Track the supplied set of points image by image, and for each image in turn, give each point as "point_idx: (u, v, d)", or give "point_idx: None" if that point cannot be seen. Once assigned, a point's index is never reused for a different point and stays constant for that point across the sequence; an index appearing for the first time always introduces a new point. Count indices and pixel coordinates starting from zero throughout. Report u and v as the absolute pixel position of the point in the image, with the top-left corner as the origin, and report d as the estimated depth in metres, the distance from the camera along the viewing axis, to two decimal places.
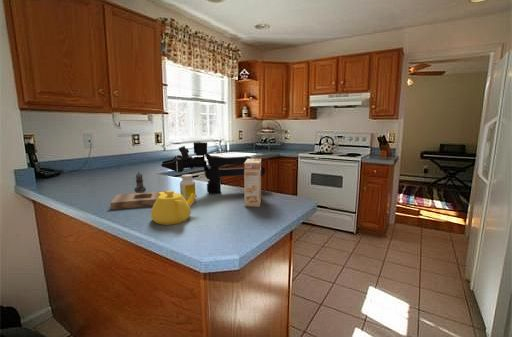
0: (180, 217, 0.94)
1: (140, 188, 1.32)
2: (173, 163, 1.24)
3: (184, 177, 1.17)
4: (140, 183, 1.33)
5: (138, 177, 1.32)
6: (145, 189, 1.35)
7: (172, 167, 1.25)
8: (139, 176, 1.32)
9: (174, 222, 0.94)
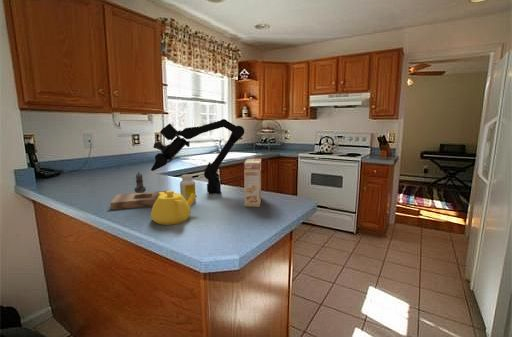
0: (180, 217, 0.94)
1: (139, 189, 1.32)
2: (157, 161, 1.27)
3: (184, 177, 1.17)
4: (140, 183, 1.33)
5: (138, 177, 1.32)
6: (145, 189, 1.35)
7: (159, 165, 1.27)
8: (139, 176, 1.32)
9: (174, 222, 0.94)
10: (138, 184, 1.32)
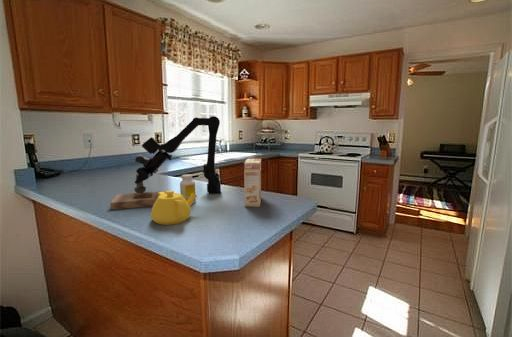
0: (180, 217, 0.94)
1: (139, 188, 1.32)
2: None
3: (184, 177, 1.17)
4: (140, 183, 1.33)
5: None
6: (145, 189, 1.35)
7: (143, 178, 1.30)
8: None
9: (174, 222, 0.94)
10: (138, 184, 1.32)
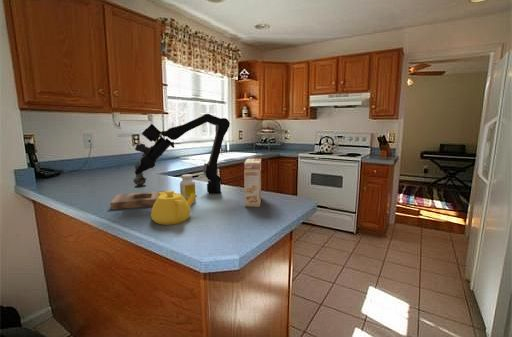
0: (180, 217, 0.94)
1: (141, 179, 1.22)
2: (142, 164, 1.20)
3: (184, 177, 1.17)
4: (140, 174, 1.23)
5: None
6: (145, 180, 1.25)
7: (145, 167, 1.21)
8: None
9: (174, 222, 0.94)
10: (138, 175, 1.22)
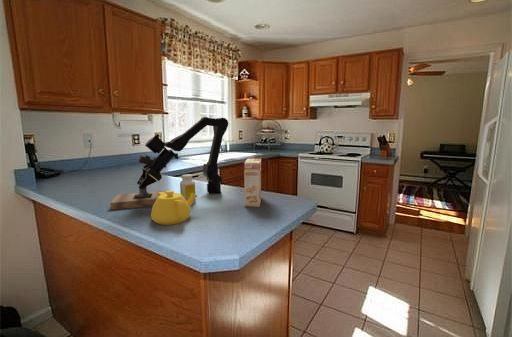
0: (180, 217, 0.94)
1: (145, 195, 1.19)
2: (148, 177, 1.15)
3: (184, 177, 1.17)
4: (145, 189, 1.20)
5: None
6: (149, 195, 1.22)
7: (150, 181, 1.16)
8: None
9: (174, 222, 0.94)
10: (143, 191, 1.19)
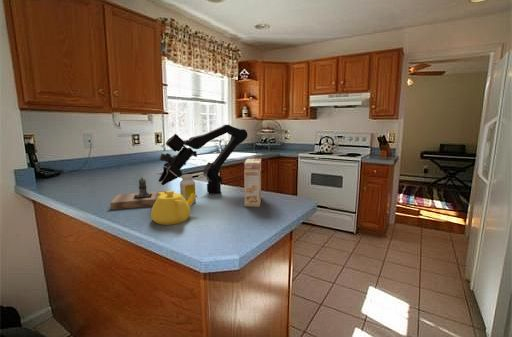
0: (180, 217, 0.94)
1: (145, 195, 1.19)
2: (169, 174, 1.20)
3: (184, 177, 1.17)
4: (145, 189, 1.20)
5: (142, 183, 1.19)
6: (149, 195, 1.22)
7: (171, 178, 1.21)
8: (143, 182, 1.19)
9: (174, 222, 0.94)
10: (142, 191, 1.19)
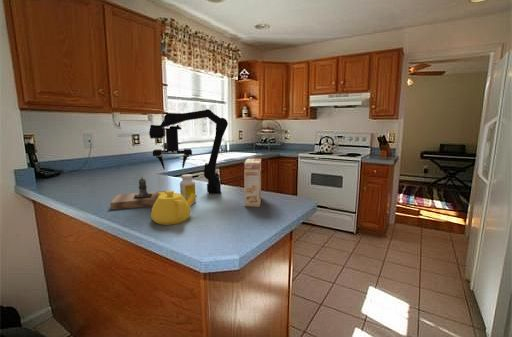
0: (180, 217, 0.94)
1: (145, 195, 1.19)
2: None
3: (184, 177, 1.17)
4: (145, 189, 1.20)
5: (142, 183, 1.19)
6: (149, 195, 1.22)
7: None
8: (143, 182, 1.19)
9: (174, 222, 0.94)
10: (142, 191, 1.19)
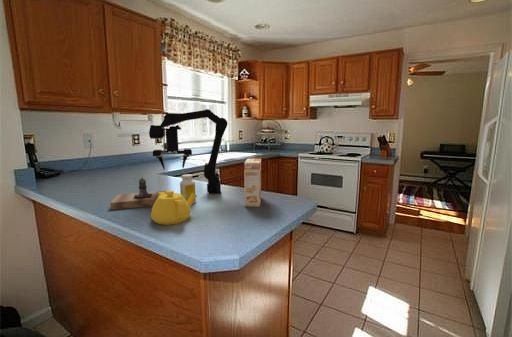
0: (180, 217, 0.94)
1: (145, 195, 1.19)
2: None
3: (184, 177, 1.17)
4: (145, 189, 1.20)
5: (142, 183, 1.19)
6: (149, 195, 1.22)
7: None
8: (143, 182, 1.19)
9: (174, 222, 0.94)
10: (143, 191, 1.19)
